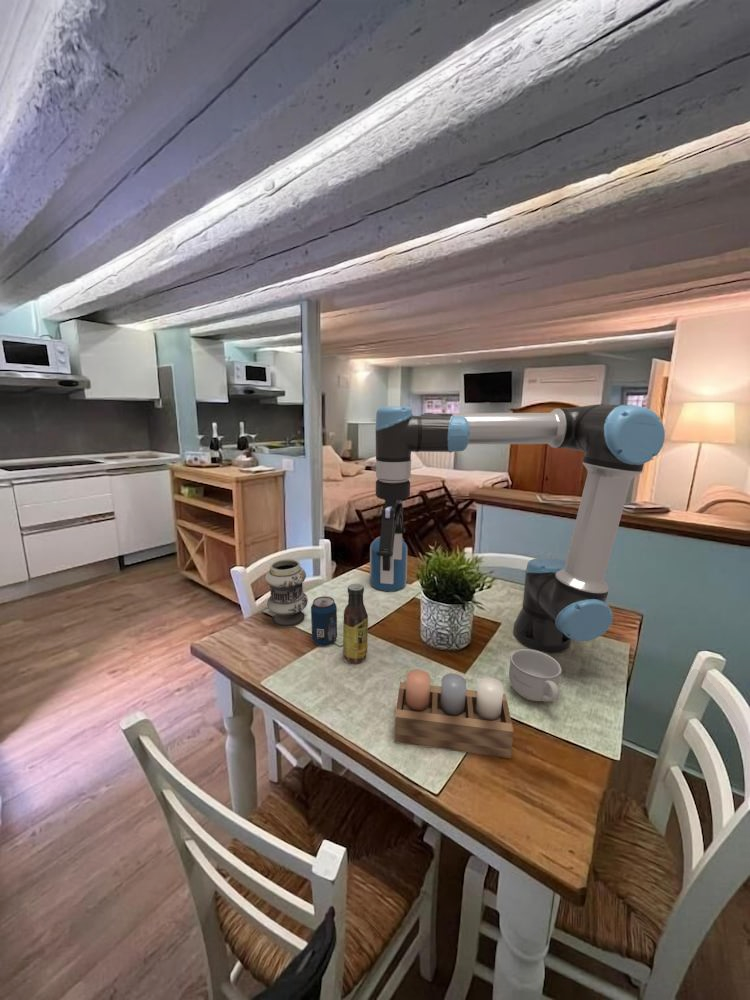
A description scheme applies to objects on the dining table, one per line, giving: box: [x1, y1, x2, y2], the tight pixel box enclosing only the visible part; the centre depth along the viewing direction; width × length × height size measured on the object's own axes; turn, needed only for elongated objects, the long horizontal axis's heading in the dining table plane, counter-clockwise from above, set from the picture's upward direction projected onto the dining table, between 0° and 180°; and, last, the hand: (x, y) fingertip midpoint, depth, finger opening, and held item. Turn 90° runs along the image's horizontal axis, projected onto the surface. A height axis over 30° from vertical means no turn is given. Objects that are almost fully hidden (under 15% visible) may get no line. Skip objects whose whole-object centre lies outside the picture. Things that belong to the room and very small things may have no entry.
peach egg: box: [405, 669, 431, 712], centre depth 82 cm, size 5×5×6 cm
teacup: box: [508, 648, 562, 702], centre depth 92 cm, size 14×11×8 cm
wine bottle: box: [369, 536, 409, 592], centre depth 144 cm, size 14×13×30 cm
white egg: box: [476, 676, 504, 721], centre depth 80 cm, size 5×5×6 cm
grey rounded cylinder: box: [440, 672, 467, 716], centre depth 81 cm, size 5×5×6 cm
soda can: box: [310, 595, 338, 647], centre depth 112 cm, size 7×7×12 cm
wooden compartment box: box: [393, 681, 515, 759], centre depth 82 cm, size 22×10×6 cm, turn 81°
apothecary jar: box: [265, 558, 309, 629], centre depth 122 cm, size 12×12×18 cm
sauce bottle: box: [342, 583, 369, 665], centre depth 103 cm, size 6×6×20 cm
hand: (391, 570), depth 93 cm, fingers open, 13 cm apart
